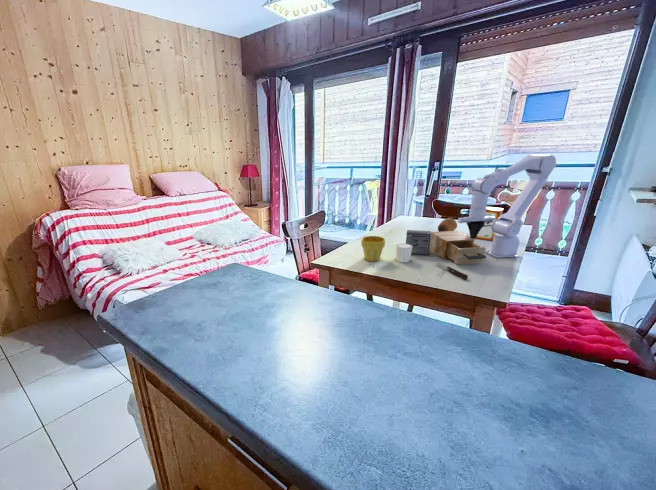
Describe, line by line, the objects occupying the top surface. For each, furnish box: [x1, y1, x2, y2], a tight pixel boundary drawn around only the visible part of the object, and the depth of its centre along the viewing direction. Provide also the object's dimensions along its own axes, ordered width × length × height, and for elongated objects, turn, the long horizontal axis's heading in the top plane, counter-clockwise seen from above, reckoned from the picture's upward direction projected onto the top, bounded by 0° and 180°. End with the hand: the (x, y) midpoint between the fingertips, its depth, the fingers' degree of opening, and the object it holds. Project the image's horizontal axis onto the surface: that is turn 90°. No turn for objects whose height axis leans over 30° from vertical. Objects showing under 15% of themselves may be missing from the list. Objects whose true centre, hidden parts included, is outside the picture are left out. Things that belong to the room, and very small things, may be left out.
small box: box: [405, 229, 432, 256], centre depth 155 cm, size 11×6×10 cm, turn 65°
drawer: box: [445, 241, 487, 265], centre depth 141 cm, size 18×11×7 cm, turn 1°
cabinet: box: [429, 230, 475, 260], centre depth 152 cm, size 15×13×9 cm
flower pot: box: [360, 235, 386, 262], centre depth 151 cm, size 10×10×10 cm
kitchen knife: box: [434, 262, 469, 281], centre depth 133 cm, size 18×1×2 cm, turn 12°
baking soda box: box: [475, 206, 504, 242], centre depth 168 cm, size 10×6×16 cm
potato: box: [437, 217, 458, 232], centre depth 181 cm, size 8×13×8 cm
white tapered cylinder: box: [395, 243, 413, 263], centre depth 147 cm, size 7×7×7 cm
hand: (472, 238), depth 143 cm, fingers closed
